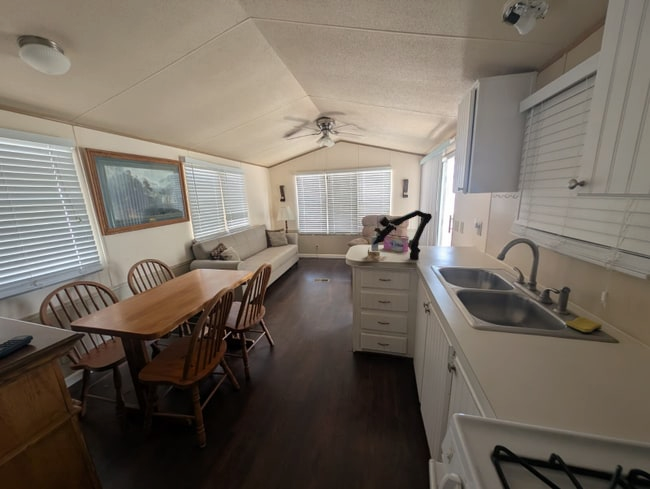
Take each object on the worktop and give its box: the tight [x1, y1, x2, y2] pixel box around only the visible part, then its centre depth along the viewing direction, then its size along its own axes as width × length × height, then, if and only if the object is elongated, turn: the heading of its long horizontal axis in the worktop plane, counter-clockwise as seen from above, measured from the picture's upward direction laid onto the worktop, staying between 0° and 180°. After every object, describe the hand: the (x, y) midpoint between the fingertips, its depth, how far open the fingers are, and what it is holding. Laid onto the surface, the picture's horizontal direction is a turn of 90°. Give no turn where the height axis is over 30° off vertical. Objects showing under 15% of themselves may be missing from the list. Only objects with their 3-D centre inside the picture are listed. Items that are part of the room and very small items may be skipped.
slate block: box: [370, 235, 379, 252], centre depth 203 cm, size 6×6×12 cm
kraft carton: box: [367, 247, 388, 262], centre depth 204 cm, size 16×15×8 cm
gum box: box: [383, 233, 410, 253], centre depth 236 cm, size 24×8×14 cm, turn 43°
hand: (373, 243), depth 203 cm, fingers closed on slate block, 5 cm apart
